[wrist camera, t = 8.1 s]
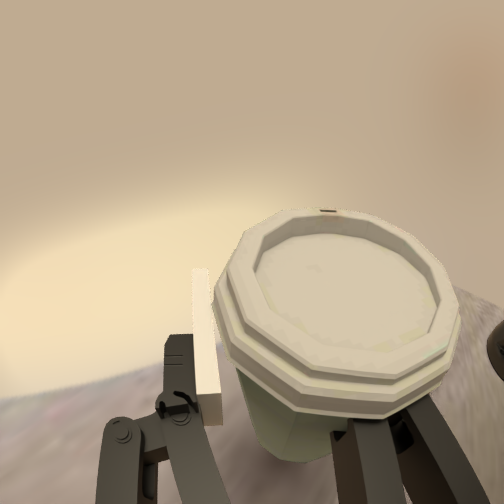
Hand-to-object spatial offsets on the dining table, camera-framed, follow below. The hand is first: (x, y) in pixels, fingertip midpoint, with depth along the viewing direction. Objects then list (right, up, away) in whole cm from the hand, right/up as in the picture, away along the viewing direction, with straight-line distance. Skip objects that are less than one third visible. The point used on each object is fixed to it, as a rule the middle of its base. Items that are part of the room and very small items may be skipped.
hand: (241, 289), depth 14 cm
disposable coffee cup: (+4, -11, +4) cm, 12 cm away
